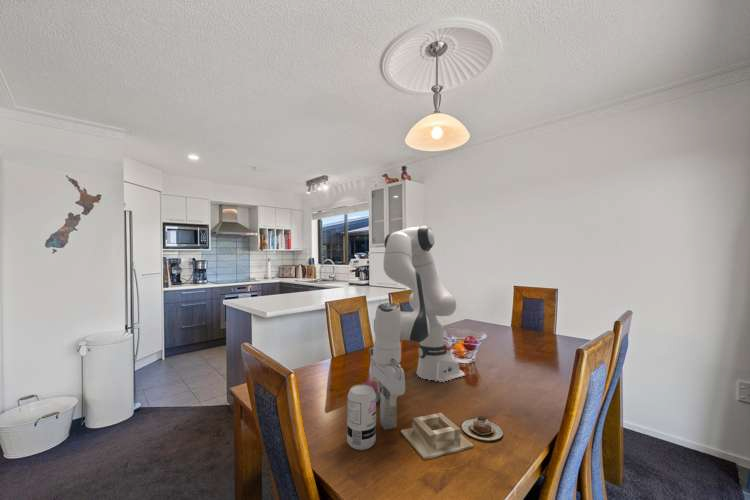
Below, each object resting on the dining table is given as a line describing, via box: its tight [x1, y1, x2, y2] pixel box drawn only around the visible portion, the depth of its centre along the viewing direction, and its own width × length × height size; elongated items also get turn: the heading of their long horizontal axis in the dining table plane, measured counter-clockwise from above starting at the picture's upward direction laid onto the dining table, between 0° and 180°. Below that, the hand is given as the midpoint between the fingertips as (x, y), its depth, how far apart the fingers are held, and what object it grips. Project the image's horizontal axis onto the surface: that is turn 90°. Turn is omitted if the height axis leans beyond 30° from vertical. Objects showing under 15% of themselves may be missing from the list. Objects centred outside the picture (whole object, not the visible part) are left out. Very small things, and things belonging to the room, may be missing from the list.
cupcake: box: [361, 377, 380, 403], centre depth 114 cm, size 9×8×12 cm
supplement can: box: [346, 384, 377, 451], centre depth 87 cm, size 8×8×15 cm
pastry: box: [461, 414, 504, 442], centre depth 94 cm, size 12×12×5 cm
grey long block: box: [379, 387, 398, 431], centre depth 97 cm, size 4×4×12 cm
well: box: [400, 412, 475, 461], centre depth 89 cm, size 16×14×5 cm
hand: (386, 398), depth 97 cm, fingers open, 8 cm apart
